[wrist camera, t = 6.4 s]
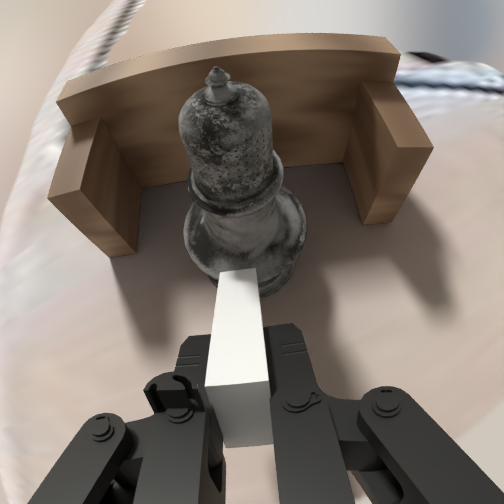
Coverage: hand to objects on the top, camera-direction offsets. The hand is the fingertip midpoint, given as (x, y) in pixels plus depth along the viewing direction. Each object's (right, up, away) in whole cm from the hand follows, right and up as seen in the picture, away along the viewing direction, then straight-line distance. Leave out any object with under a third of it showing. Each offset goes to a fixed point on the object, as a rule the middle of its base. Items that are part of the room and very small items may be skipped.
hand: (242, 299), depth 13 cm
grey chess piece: (0, +2, +5) cm, 5 cm away
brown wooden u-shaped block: (0, +6, +7) cm, 9 cm away
